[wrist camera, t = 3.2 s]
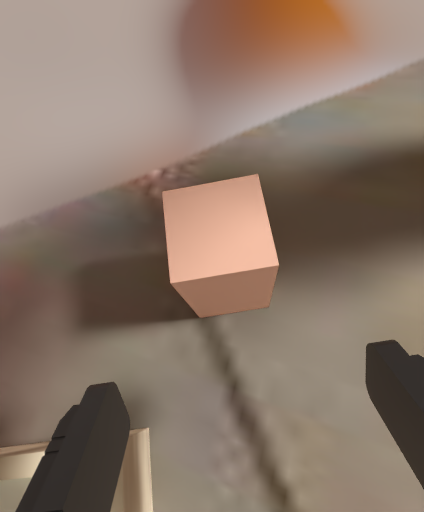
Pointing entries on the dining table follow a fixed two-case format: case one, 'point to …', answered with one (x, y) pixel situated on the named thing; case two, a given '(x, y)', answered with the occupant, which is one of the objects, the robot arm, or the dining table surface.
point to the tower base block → (129, 482)
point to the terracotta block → (220, 246)
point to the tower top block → (12, 493)
